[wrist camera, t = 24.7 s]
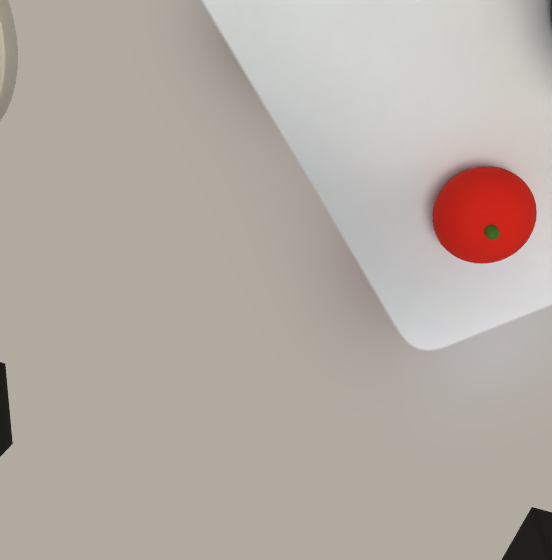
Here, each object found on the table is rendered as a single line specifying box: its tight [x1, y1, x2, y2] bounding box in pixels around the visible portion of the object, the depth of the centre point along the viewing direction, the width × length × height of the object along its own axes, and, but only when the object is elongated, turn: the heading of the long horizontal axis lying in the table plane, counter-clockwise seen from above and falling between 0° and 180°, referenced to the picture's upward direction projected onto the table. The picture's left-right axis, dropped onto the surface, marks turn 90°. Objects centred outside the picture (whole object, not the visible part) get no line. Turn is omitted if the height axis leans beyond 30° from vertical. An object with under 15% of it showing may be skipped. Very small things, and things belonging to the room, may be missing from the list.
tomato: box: [433, 167, 537, 263], centre depth 36 cm, size 7×7×8 cm
